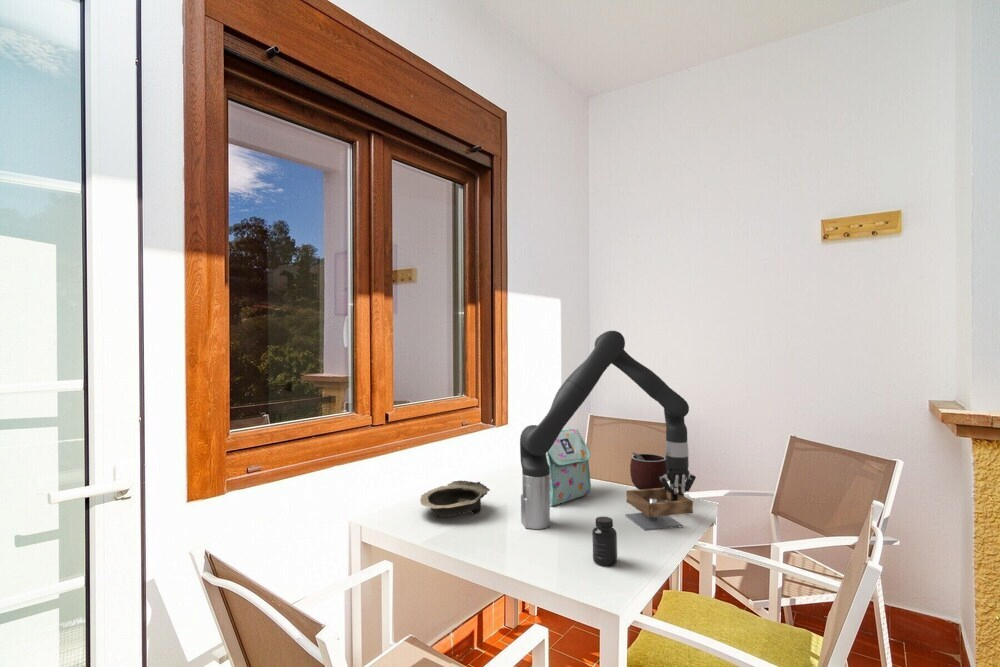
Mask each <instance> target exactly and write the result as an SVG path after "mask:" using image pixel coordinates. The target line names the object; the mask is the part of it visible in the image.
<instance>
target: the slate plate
mask: <svg viewBox="0 0 1000 667" xmlns="http://www.w3.org/2000/svg"><path fill="white" fill-rule="evenodd" d="M625 517H626V518H627V517H628V518H627V519H628V520H630V521H631V522H633V523H634V525H637V526H638V527H639V526H640V527H639V528H641V529H642V530H643V529H644V530H643V531H651V530H650V529H654V530H662V529H661V528H665V529H671V528H670V527H676V528H680V527H679V526H683V527H684V524H682V523H681V522H679V521H677V519H674V518H673V517H671V515H668V516H657V520H656V521H652V520H650V519H649V517H648V516H646V515H645V514H643V513H642V512H636V513H626V514H625Z"/></svg>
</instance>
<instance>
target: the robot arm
mask: <svg viewBox="0 0 1000 667" xmlns="http://www.w3.org/2000/svg"><path fill="white" fill-rule="evenodd" d="M625 345H626V340H625V337H624V335H623V334H622V333H621V332H619V331H617V330H608V331H605V332H603V333H602V334H600V335H599V336H598V337H597V338H596V339H595V341H594V348H593V350H592V351H591V353H590V354H589V356H587V358H586V359H585V360H584V361H583V362H581V364H580V365H579V366H577V368H576V369H574V371H573V372H572V373H571V374H570V375H569V376H568V377H567V378H566V379H565V380H564V382H563V383H562V385H561V386H560V387H559V389H558V390H557V392H556V393H555V396H554V398H553V400H552V403H551V406H550V409H549V410H548V412H547V414H546V415H545V416H544V417H543V419H542V420H541V422H539V424H538V425H536V424H531V425H527V426H526V427H525V428H524V429H523V430H522V431H521V434H520V438H519V448H520V449H519V450H520V451H519V452H520V465H521V469H522V470H521V471H522V494H520V518H521V519H520V521H521V522H520V523H521V524H522V525H523V527H524V528H525V529H532V530H541V529H547V528H548V526H549V525H551V511H550V510H551V506H550V470H549V464H548V462H547V458H546V453H547V452H548V451H549V450H550V448H551V447H552V445H553V444H554V442H555V440H556V439H557V437H558V435H559V434H560V432H561V430H564V427H565V426H566V425H567V423H568V422H569V421H570V420H571V418H572V417H573V416H574V415H575V413H576V412H577V411H578V409H579V408H580V407H581V406H582V404H583V403H584V402H585V401H586V399H587V398H588V397H589V396H590V394H591V392H592V391H593V389H594V388H595V386H596V385H597V383H598V382H599V380H600V379H601V377H602V376H603V374H604V372H605V371H606V370H607V369H608V368H609V367H610V366H611V364H612V365H613V366H615V367H616V368H617V369H618V370H619V371H621V372H622V373H624V374H625V375H626V376H627V377H628V378H629V379H630V380H632V382H634V383H635V384H637V386H638V387H639V388H640V389H642V390H643V392H645V393H646V394H647V395H648V396H649V397H650V398H652V399H653V400H654V401H655V402H657V403H659V405H660V406H661V407H663V412H664V413H663V414H664V420H665V421H664V422H665V425H666V426H665V457H666V472H665V475H663V476H662V477H661V476H660V477H659V480H660V481H661V483H662V485H663V486H664V488H665V490H666V491H668V492H670V493H671V501H677V493H678V494H680V495H682V496H684V497H685V493H686V492H690V490H691V488H692V486H693V484H694V483H695V480H696V475H693V474H692V473H690V471H689V465H690V464H689V463H690V462H689V444H688V427H687V426H686V424H685V417H686V416H687V415H688V413H689V411H690V406H689V403H688V401H687V400H685V398H684V397H682V396H681V395H680V394H678V393H677V391H675V390H673V389H672V388H671V387H670V386H668V384H667V383H666V382H665V381H664V380H663V379H662V378H661V377H660V376H658V375H657V374H656V373H655V372H653V370H651V369H650V368H648V367H647V366H645V365H643V364H642V363H640V362H639V361H637V360H636V359H635V358H633V357H632V356H631V355H630V354H629V353H628V352H626V350H625ZM668 481H669V482H668ZM549 527H550V526H549Z"/></svg>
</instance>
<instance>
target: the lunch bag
mask: <svg viewBox="0 0 1000 667" xmlns="http://www.w3.org/2000/svg"><path fill="white" fill-rule="evenodd" d="M546 458H547V462H548V464H549V470H550V507H553V506H557V505H560V503H561V504H563V503H567V502H569V501H572V500H575V499H578V498H582V497H585V496H587V495H589V494H590V493H591V490H592V485H591V473H590V464H589V459H590V458H591V451H590V449H589V447H588V445H587V444H586V442H585V440H584V438H583V437H582V435H581V432H580V431H579V429H578V428H565V429H562V430H561V432H560V434H559V435H558V437H557V439H556V440H555V442H554V444H553V445H552V447H551V448H550V450H549V451H548V452H547V453H546Z"/></svg>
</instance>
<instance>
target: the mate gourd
mask: <svg viewBox="0 0 1000 667" xmlns="http://www.w3.org/2000/svg"><path fill="white" fill-rule="evenodd" d="M631 454H632V455H631V459H630V465H629V470H630V471H629V472H630V479H631V482H632V484H633V485H634V486H635V489H636V490H642V489H654V488H664V486H663V485H662V483H661V481H660V480H659V477H660V476H661V477H662V476H663V475H665V472H666V456H664V455H661V454H656V453H636V452H632V453H631ZM658 502H667V500H661V501H657V503H658Z"/></svg>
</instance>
